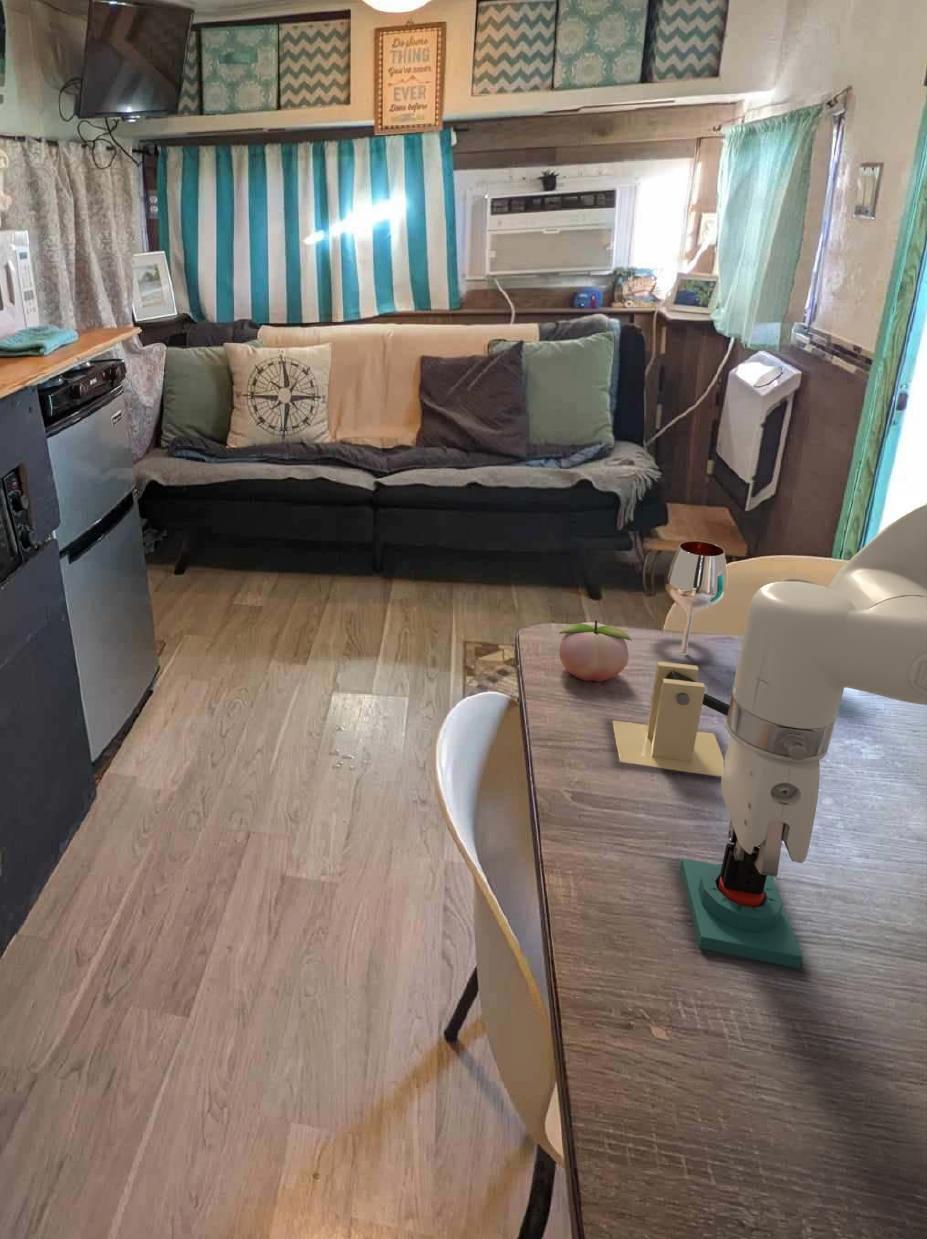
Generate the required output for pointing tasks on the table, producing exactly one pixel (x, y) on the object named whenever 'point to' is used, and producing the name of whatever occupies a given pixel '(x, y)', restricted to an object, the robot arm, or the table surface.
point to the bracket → (671, 728)
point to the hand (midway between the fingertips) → (740, 885)
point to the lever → (707, 699)
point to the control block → (738, 919)
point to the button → (741, 896)
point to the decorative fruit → (593, 651)
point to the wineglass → (696, 580)
